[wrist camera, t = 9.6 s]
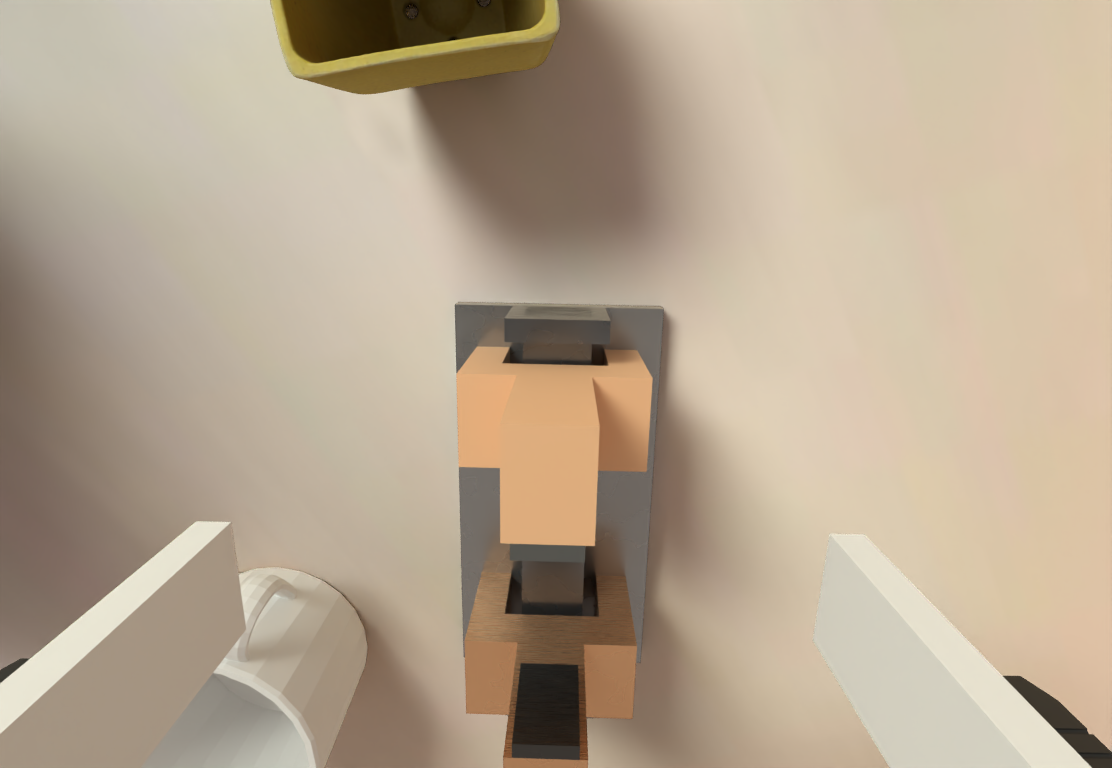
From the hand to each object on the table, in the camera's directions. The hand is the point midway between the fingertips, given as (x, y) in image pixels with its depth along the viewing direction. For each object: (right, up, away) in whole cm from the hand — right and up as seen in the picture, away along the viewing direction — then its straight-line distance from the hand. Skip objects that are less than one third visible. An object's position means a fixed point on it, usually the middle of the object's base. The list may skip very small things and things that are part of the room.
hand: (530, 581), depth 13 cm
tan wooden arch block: (+1, +4, +16) cm, 17 cm away
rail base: (+1, -1, +19) cm, 19 cm away
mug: (-15, -9, +21) cm, 28 cm away
